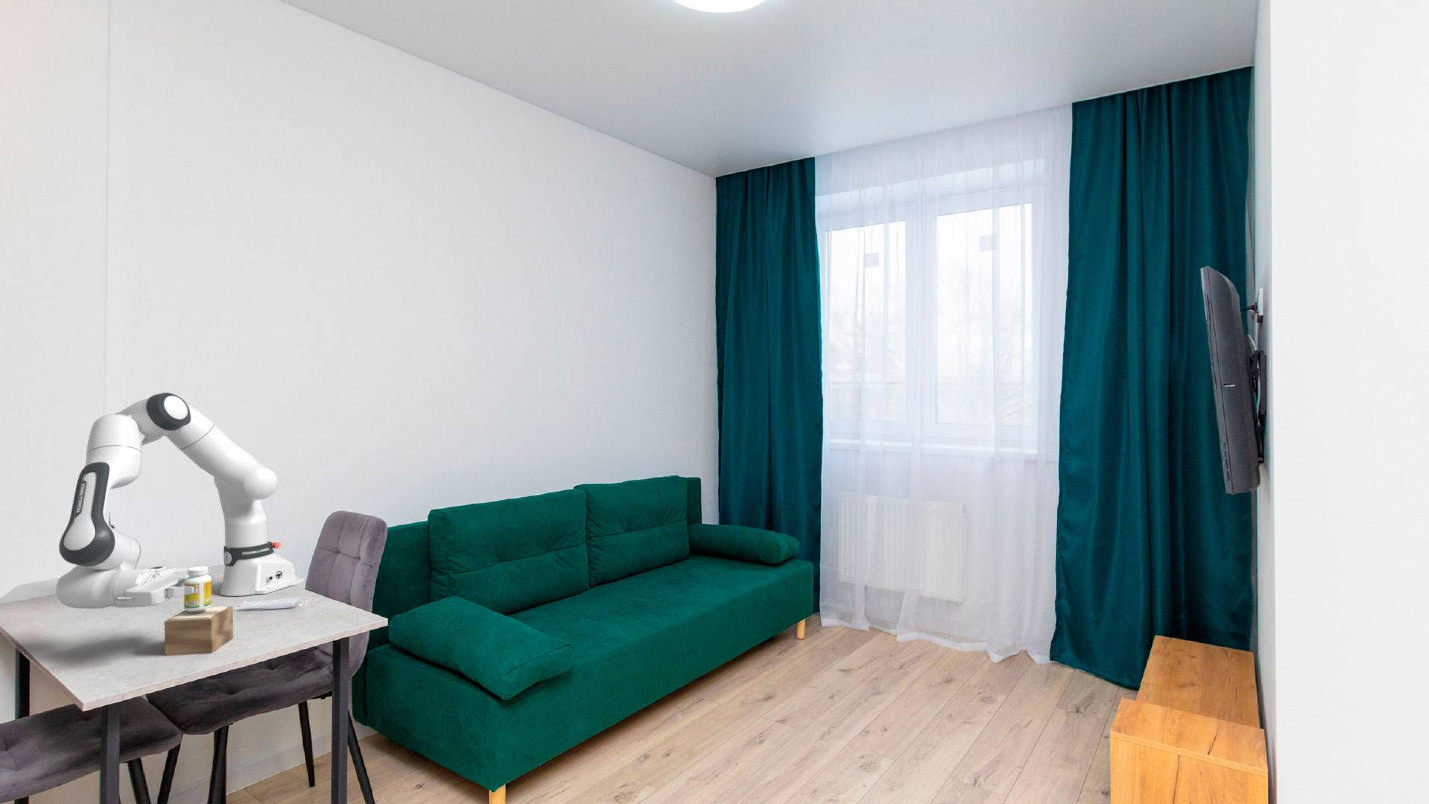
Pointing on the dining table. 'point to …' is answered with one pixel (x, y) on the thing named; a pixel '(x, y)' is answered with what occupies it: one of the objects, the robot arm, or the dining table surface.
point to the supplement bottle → (198, 589)
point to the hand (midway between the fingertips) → (202, 585)
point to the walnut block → (198, 631)
